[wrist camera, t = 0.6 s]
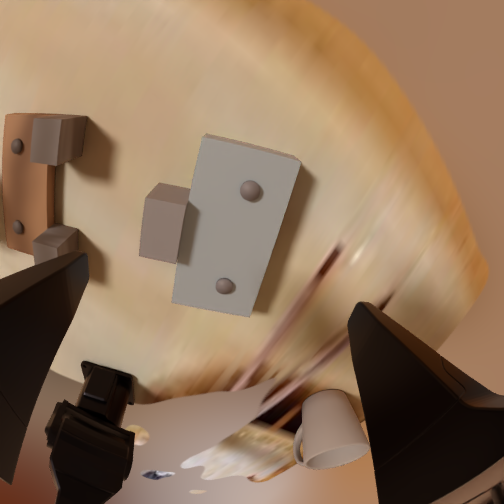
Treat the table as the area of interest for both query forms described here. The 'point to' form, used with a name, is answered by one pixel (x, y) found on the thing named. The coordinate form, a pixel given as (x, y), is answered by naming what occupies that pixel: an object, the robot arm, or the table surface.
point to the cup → (329, 432)
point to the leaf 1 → (37, 181)
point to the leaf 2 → (220, 223)
